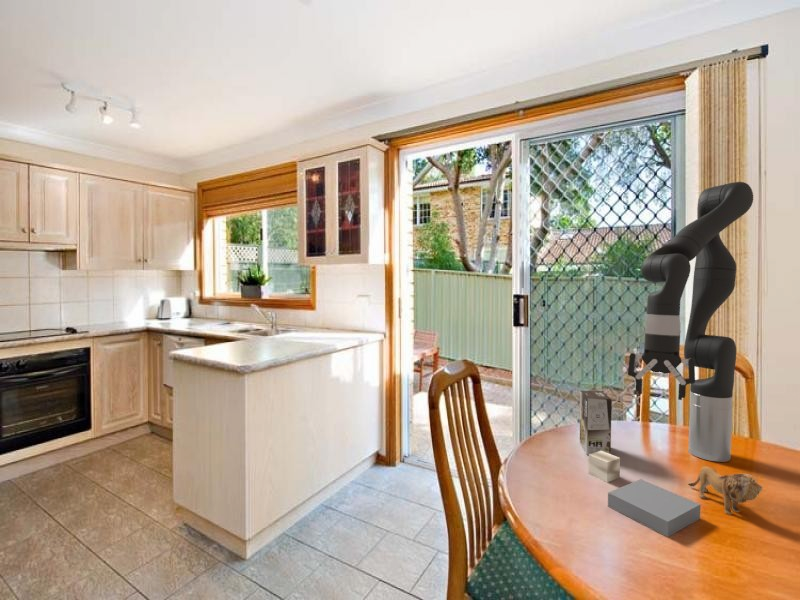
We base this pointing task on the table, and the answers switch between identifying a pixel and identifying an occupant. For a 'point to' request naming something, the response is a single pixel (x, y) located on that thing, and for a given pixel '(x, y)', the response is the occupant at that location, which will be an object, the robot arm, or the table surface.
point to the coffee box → (595, 421)
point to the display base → (654, 507)
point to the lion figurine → (728, 487)
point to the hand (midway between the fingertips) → (659, 396)
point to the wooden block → (604, 466)
